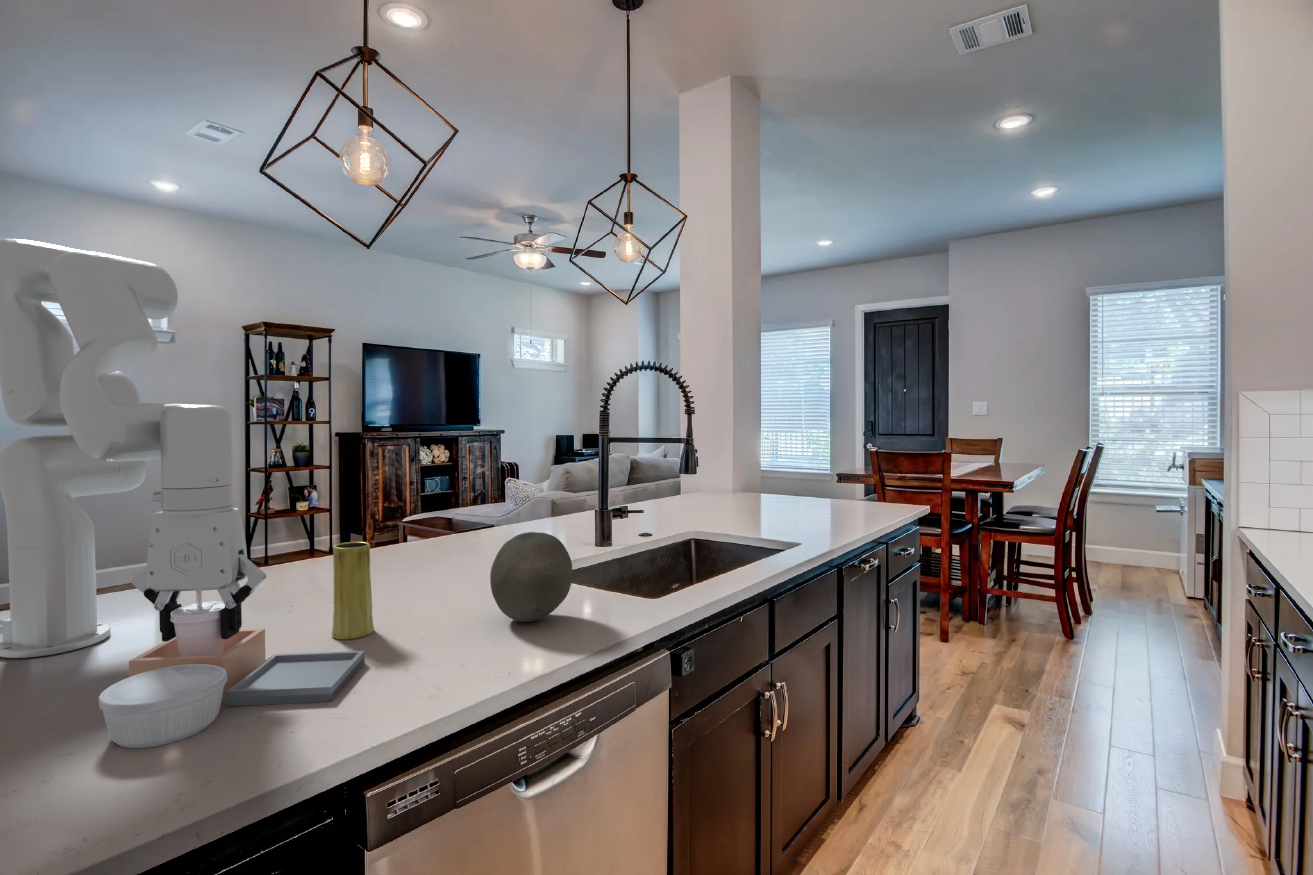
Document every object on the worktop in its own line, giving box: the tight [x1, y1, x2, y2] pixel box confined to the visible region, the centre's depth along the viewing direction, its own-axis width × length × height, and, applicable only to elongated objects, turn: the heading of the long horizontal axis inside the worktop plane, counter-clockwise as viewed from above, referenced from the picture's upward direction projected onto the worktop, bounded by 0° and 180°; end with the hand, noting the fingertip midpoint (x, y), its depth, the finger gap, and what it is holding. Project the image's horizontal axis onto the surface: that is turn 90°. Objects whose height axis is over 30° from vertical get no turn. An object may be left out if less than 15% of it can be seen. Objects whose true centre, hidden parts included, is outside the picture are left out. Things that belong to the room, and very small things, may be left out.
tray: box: [225, 650, 366, 707], centre depth 83 cm, size 12×12×2 cm
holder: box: [128, 628, 267, 698], centre depth 83 cm, size 11×11×5 cm
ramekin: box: [98, 664, 227, 749], centre depth 71 cm, size 11×11×5 cm
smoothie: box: [170, 591, 225, 657], centre depth 83 cm, size 6×6×14 cm
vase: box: [331, 541, 375, 641], centre depth 102 cm, size 6×6×14 cm
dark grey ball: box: [489, 531, 573, 623], centre depth 108 cm, size 14×14×15 cm
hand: (201, 635), depth 83 cm, fingers closed on smoothie, 6 cm apart
